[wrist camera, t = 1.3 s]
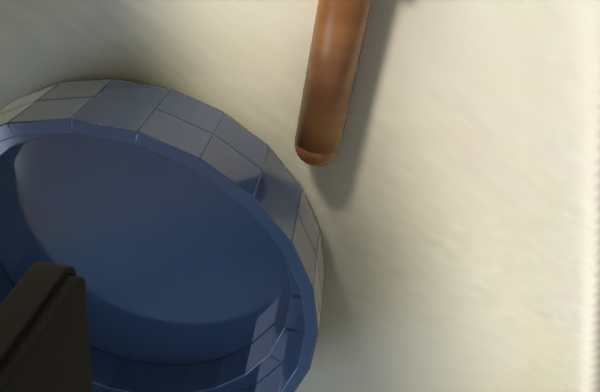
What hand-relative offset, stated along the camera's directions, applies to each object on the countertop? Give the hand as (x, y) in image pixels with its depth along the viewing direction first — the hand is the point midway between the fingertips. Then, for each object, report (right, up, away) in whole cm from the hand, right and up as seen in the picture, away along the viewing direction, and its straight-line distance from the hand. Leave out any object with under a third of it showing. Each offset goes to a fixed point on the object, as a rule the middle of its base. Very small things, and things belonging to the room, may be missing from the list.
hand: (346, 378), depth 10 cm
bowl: (-9, 0, +21) cm, 23 cm away
